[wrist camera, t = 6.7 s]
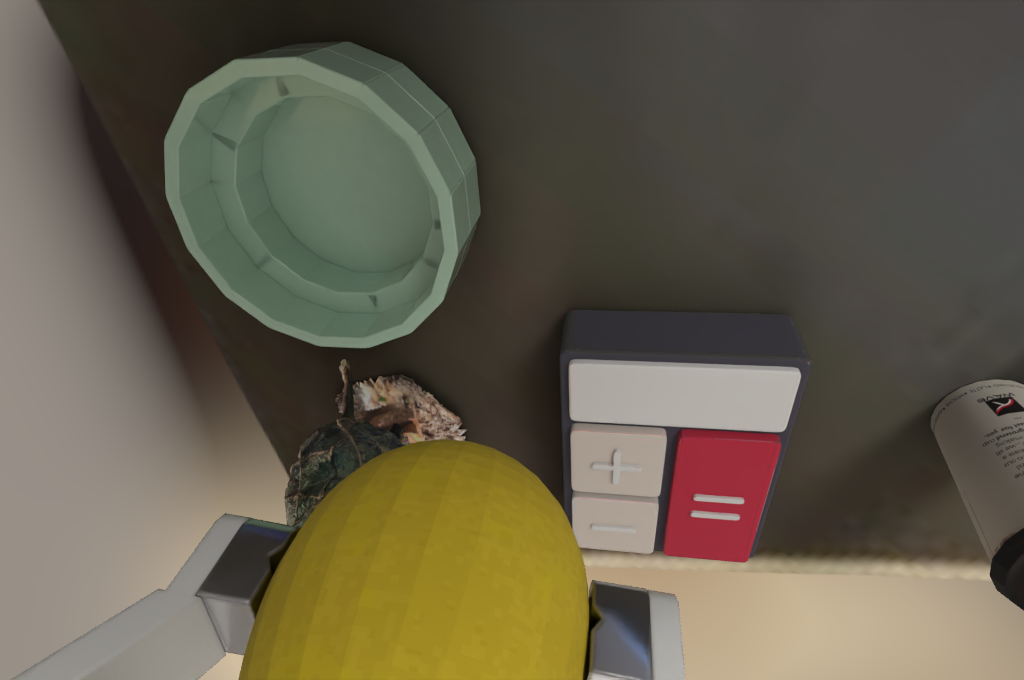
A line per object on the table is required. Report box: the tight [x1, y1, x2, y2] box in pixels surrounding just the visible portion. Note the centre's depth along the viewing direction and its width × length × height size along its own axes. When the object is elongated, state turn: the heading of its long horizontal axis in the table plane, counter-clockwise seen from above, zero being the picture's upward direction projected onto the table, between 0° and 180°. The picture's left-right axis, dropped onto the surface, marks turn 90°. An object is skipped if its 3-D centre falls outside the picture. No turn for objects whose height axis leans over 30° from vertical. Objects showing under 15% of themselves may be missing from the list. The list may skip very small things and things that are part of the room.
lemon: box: [239, 439, 589, 680], centre depth 10 cm, size 6×6×8 cm
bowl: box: [164, 41, 480, 348], centre depth 25 cm, size 12×12×5 cm
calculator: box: [559, 310, 812, 562], centre depth 31 cm, size 11×4×15 cm
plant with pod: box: [285, 359, 466, 528], centre depth 27 cm, size 8×11×20 cm
